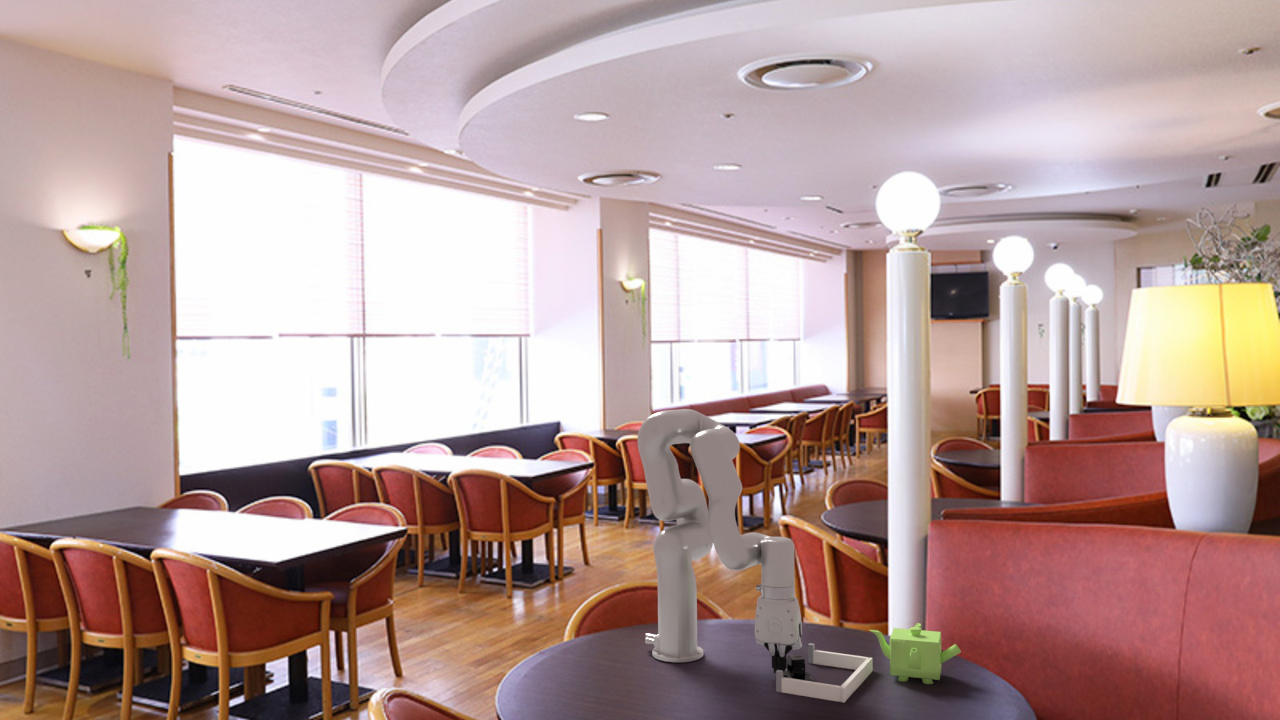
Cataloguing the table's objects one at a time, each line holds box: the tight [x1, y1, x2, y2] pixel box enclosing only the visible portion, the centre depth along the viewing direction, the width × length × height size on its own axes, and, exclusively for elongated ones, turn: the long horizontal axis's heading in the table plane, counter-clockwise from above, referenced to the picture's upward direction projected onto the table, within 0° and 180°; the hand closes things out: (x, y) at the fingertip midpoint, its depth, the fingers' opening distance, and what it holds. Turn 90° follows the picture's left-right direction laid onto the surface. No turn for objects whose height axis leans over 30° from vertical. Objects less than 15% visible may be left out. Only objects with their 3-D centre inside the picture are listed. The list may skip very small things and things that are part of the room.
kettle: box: [869, 622, 962, 685], centre depth 216 cm, size 15×14×11 cm
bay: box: [775, 643, 874, 703], centre depth 215 cm, size 15×23×4 cm, turn 152°
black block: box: [783, 654, 818, 682], centre depth 219 cm, size 12×7×5 cm, turn 11°
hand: (779, 672), depth 219 cm, fingers closed
